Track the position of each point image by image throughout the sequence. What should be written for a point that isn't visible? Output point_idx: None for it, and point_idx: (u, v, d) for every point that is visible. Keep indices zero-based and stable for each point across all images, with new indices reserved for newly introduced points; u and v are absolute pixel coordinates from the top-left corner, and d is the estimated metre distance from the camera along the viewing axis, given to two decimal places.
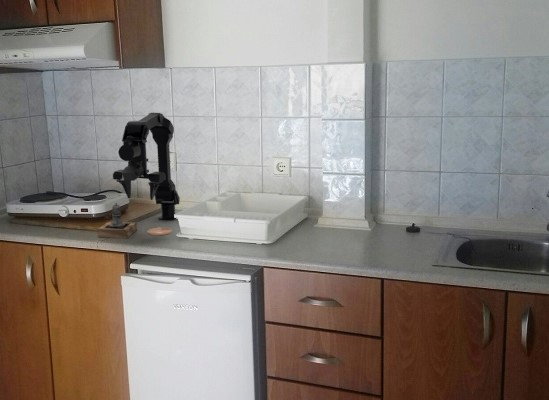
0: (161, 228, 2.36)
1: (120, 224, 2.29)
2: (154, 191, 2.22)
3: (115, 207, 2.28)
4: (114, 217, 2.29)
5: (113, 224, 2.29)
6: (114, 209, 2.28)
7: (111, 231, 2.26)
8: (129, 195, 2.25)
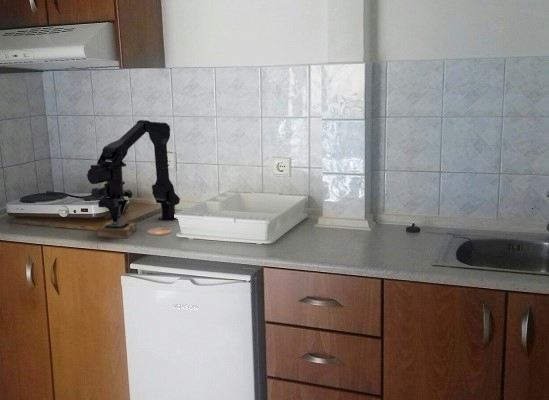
0: (161, 228, 2.36)
1: (120, 224, 2.29)
2: (114, 214, 2.27)
3: None
4: None
5: (113, 224, 2.29)
6: None
7: (111, 231, 2.26)
8: None
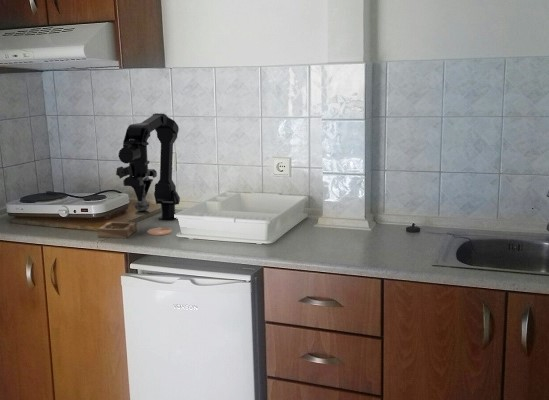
0: (161, 228, 2.36)
1: (145, 203, 2.29)
2: (139, 193, 2.27)
3: None
4: None
5: (138, 203, 2.29)
6: None
7: (111, 231, 2.26)
8: None
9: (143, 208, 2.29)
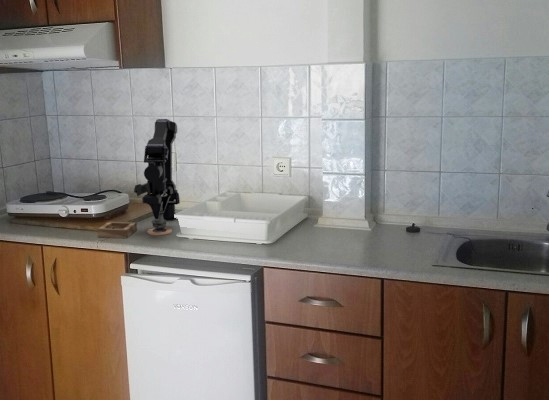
0: None
1: (162, 221, 2.31)
2: (156, 211, 2.28)
3: None
4: None
5: (155, 221, 2.31)
6: None
7: (111, 231, 2.26)
8: None
9: (161, 226, 2.31)
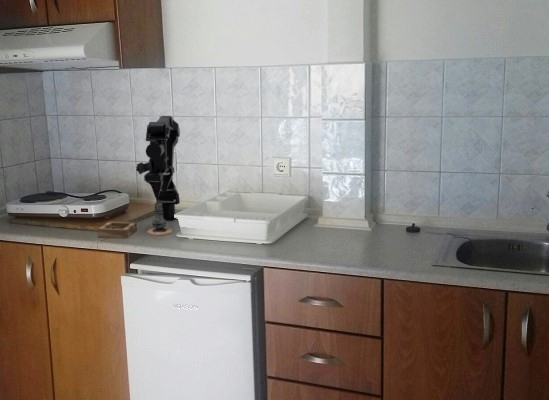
0: None
1: (162, 221, 2.31)
2: (156, 190, 2.30)
3: (157, 204, 2.30)
4: (156, 214, 2.31)
5: (155, 221, 2.31)
6: (156, 206, 2.30)
7: (111, 231, 2.26)
8: (164, 190, 2.41)
9: (161, 226, 2.31)
